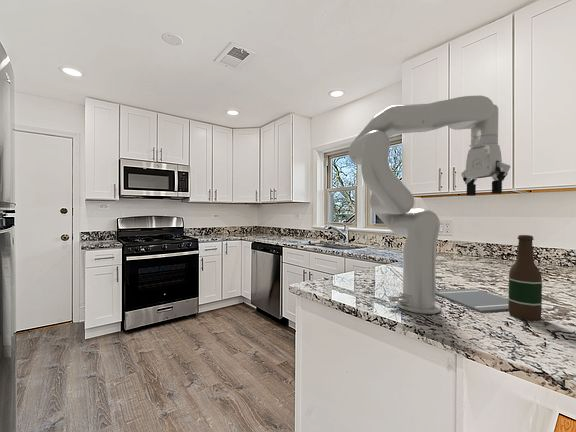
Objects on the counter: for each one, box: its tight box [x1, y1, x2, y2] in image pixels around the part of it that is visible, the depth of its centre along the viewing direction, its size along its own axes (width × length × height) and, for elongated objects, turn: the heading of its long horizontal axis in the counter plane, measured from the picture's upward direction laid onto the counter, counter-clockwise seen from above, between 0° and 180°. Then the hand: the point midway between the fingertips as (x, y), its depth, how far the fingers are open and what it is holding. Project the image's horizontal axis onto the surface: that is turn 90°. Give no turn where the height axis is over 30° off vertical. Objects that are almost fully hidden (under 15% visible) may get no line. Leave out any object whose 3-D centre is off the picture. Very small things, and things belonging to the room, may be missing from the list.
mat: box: [435, 288, 509, 314], centre depth 99 cm, size 20×22×1 cm
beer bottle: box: [507, 234, 543, 322], centre depth 83 cm, size 8×8×24 cm
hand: (483, 194), depth 94 cm, fingers open, 9 cm apart
